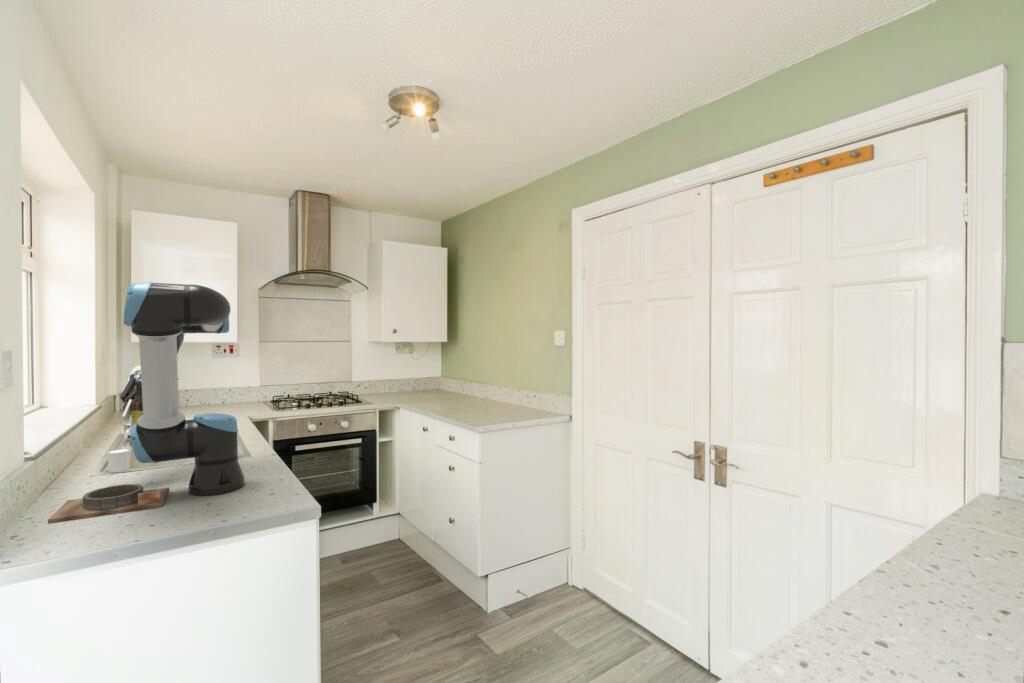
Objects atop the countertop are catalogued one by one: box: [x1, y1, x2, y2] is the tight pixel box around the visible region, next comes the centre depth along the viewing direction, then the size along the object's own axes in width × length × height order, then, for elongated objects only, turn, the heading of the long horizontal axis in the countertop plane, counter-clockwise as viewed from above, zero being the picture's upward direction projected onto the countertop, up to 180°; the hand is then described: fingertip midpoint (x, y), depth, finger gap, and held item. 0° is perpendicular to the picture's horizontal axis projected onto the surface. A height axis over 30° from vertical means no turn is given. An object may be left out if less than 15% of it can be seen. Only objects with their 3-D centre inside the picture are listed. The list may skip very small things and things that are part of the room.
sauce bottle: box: [130, 379, 143, 427], centre depth 156 cm, size 6×6×20 cm
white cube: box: [106, 448, 132, 474], centre depth 173 cm, size 7×7×7 cm
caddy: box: [47, 483, 170, 524], centre depth 139 cm, size 24×16×4 cm, turn 119°
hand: (137, 418), depth 152 cm, fingers closed on sauce bottle, 6 cm apart
